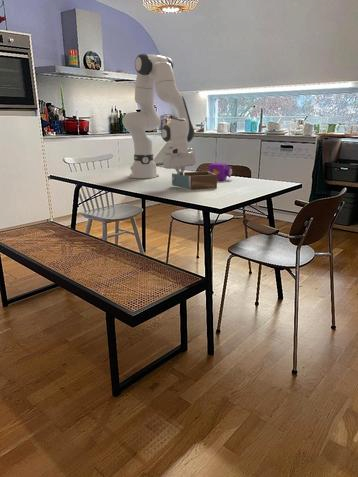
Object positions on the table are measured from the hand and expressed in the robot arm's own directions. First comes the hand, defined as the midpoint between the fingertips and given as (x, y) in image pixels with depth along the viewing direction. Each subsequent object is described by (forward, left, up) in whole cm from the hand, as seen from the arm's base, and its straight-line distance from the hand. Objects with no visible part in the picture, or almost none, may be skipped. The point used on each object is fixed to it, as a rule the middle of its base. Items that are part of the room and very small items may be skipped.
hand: (180, 175), depth 202 cm
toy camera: (-15, +29, -6) cm, 33 cm away
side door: (+5, -1, -6) cm, 7 cm away
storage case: (+3, +10, -6) cm, 12 cm away
